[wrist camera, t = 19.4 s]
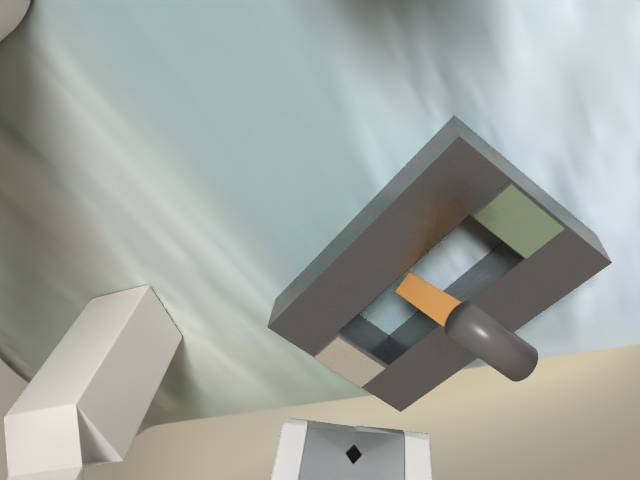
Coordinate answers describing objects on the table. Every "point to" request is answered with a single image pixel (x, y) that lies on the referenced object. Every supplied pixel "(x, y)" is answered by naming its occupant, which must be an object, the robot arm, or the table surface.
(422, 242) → the breaker box
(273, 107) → the table surface
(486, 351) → the lever
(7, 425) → the milk carton
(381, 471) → the robot arm
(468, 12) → the table surface
